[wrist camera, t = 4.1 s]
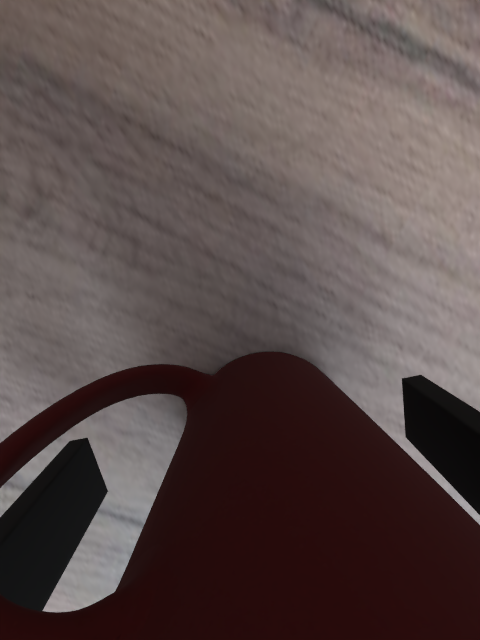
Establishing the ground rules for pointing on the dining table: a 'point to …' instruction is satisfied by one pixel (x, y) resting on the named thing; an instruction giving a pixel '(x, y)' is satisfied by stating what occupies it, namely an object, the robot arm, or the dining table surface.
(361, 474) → the mug
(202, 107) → the dining table surface
